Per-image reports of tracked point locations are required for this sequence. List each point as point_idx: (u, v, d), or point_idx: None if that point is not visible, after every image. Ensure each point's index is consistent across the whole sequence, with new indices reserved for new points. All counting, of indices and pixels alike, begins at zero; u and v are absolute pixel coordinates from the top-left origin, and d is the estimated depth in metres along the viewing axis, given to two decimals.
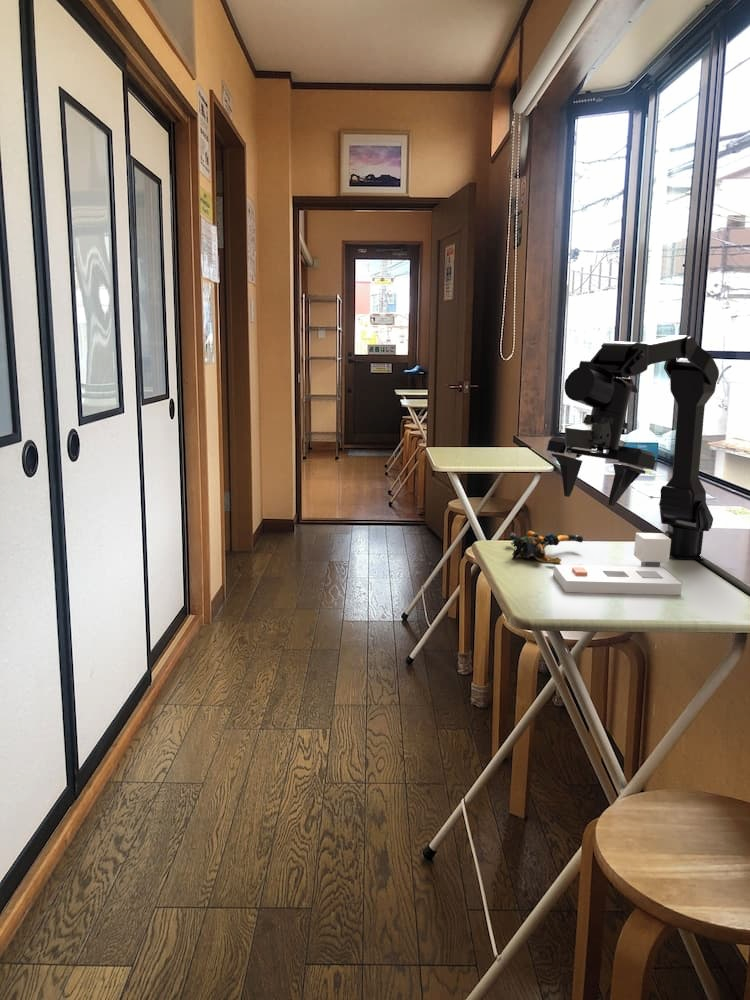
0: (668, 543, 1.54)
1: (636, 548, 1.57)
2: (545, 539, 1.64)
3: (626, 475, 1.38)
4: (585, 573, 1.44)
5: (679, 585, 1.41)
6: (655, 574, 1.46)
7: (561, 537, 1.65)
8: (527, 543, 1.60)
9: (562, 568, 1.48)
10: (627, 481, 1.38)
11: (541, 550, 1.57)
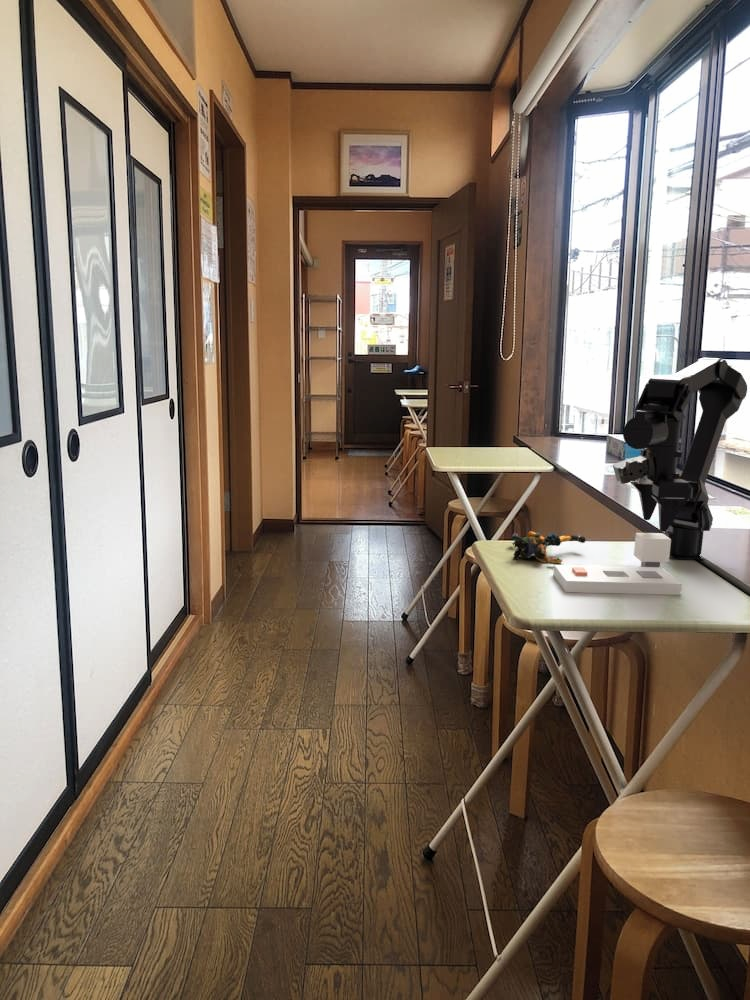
0: (668, 543, 1.54)
1: (636, 548, 1.57)
2: (547, 539, 1.64)
3: (671, 503, 1.48)
4: (585, 573, 1.44)
5: (679, 585, 1.41)
6: (655, 574, 1.46)
7: (563, 537, 1.65)
8: (528, 543, 1.60)
9: (562, 568, 1.48)
10: (673, 508, 1.49)
11: (542, 550, 1.57)
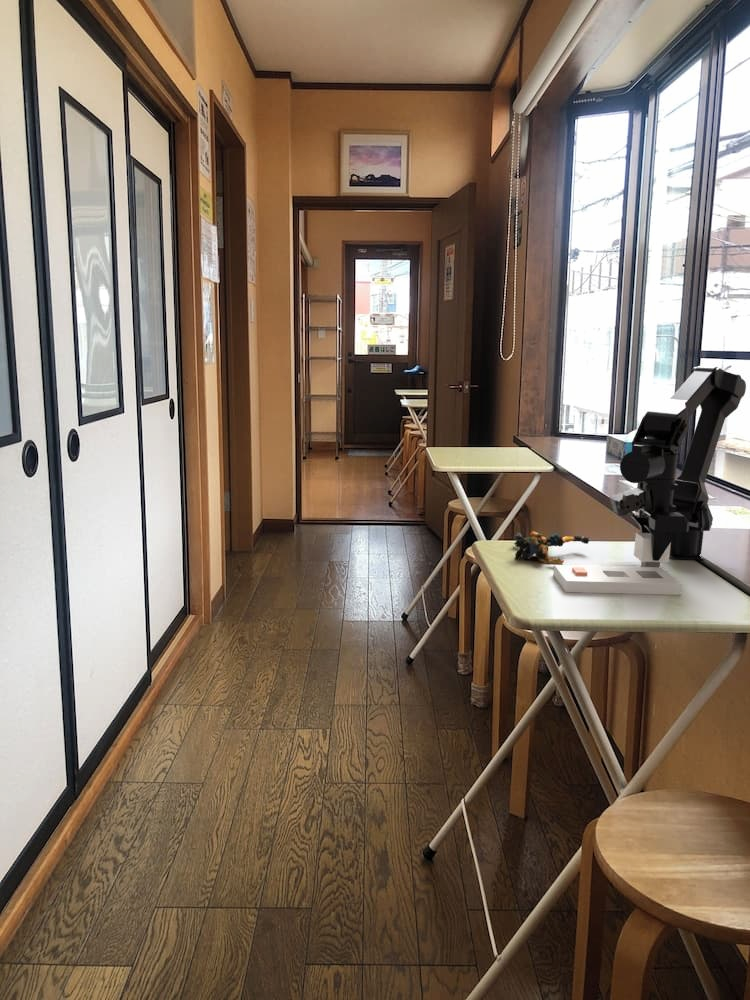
0: None
1: (636, 548, 1.57)
2: (549, 540, 1.63)
3: (663, 533, 1.52)
4: (585, 573, 1.44)
5: (679, 585, 1.41)
6: (655, 574, 1.46)
7: (566, 538, 1.65)
8: (529, 543, 1.59)
9: (562, 568, 1.48)
10: (666, 538, 1.52)
11: (543, 551, 1.57)
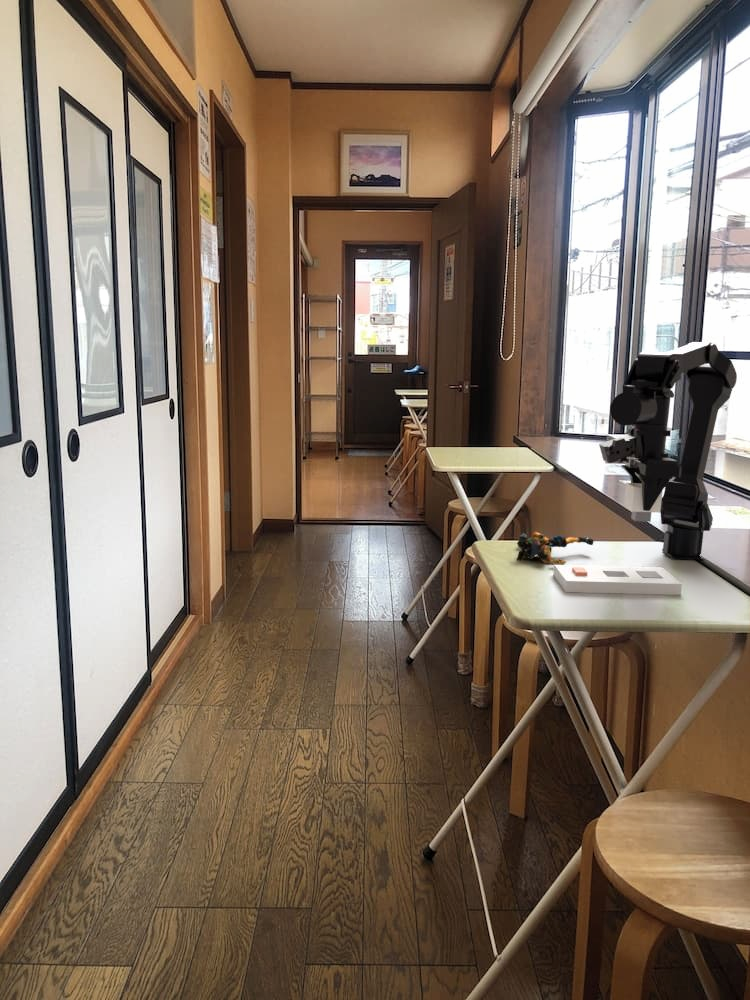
0: None
1: (626, 499, 1.51)
2: (552, 541, 1.63)
3: (654, 481, 1.45)
4: (585, 573, 1.44)
5: (679, 585, 1.41)
6: (655, 574, 1.46)
7: (570, 539, 1.64)
8: (531, 544, 1.59)
9: (562, 568, 1.48)
10: (657, 487, 1.45)
11: (544, 551, 1.56)
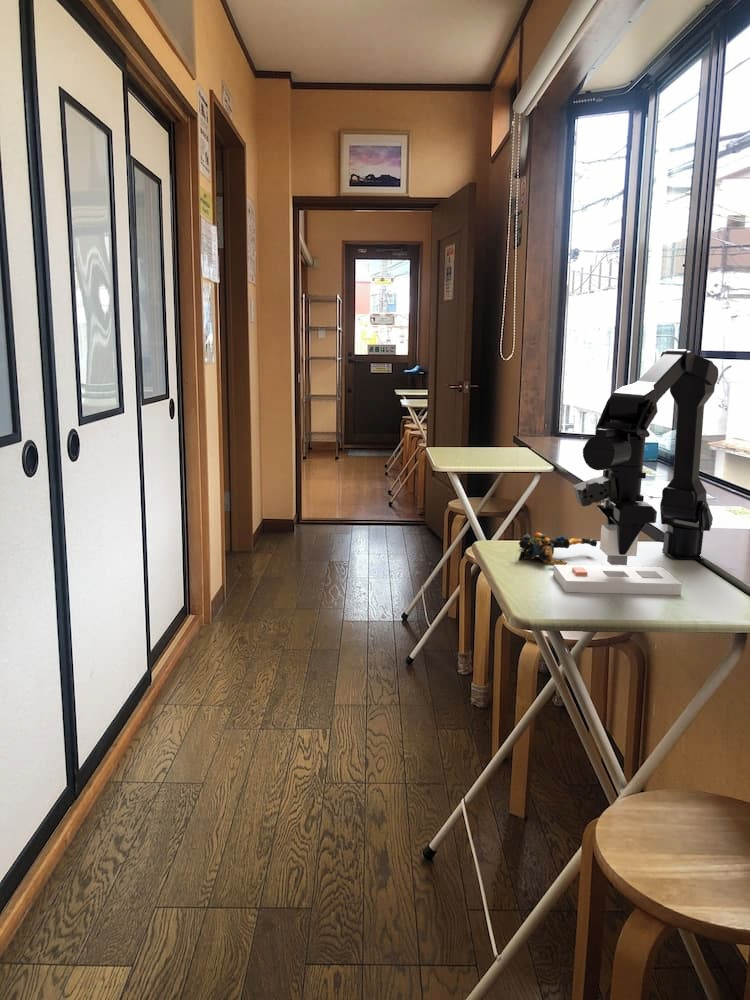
0: None
1: (602, 541, 1.46)
2: (555, 541, 1.62)
3: (630, 525, 1.40)
4: (585, 573, 1.44)
5: (679, 585, 1.41)
6: (655, 574, 1.46)
7: (573, 540, 1.63)
8: (533, 544, 1.59)
9: (562, 568, 1.48)
10: (633, 531, 1.40)
11: (545, 552, 1.56)
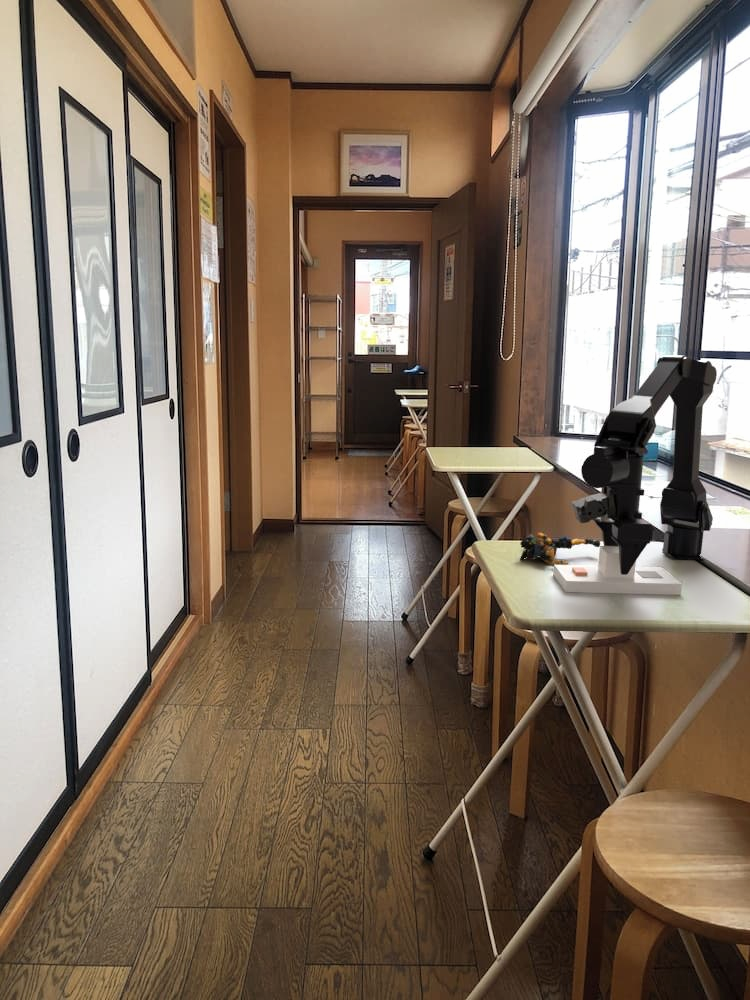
0: None
1: (600, 563, 1.46)
2: (557, 542, 1.62)
3: (632, 545, 1.39)
4: (585, 573, 1.44)
5: (679, 585, 1.41)
6: (655, 574, 1.46)
7: (576, 541, 1.63)
8: (534, 545, 1.59)
9: (562, 568, 1.48)
10: (634, 551, 1.39)
11: (546, 552, 1.56)
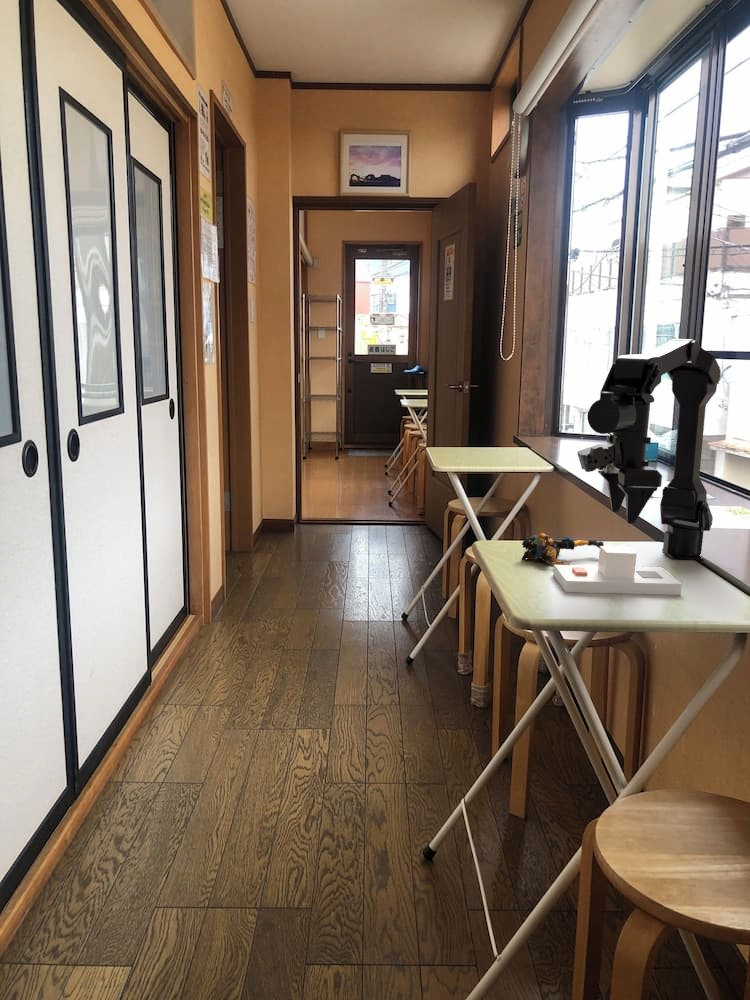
0: (633, 557, 1.43)
1: (600, 563, 1.46)
2: (560, 542, 1.61)
3: (638, 493, 1.37)
4: (585, 573, 1.44)
5: (679, 585, 1.41)
6: (655, 574, 1.46)
7: (579, 542, 1.62)
8: (536, 545, 1.59)
9: (562, 568, 1.48)
10: (641, 499, 1.37)
11: (547, 552, 1.56)
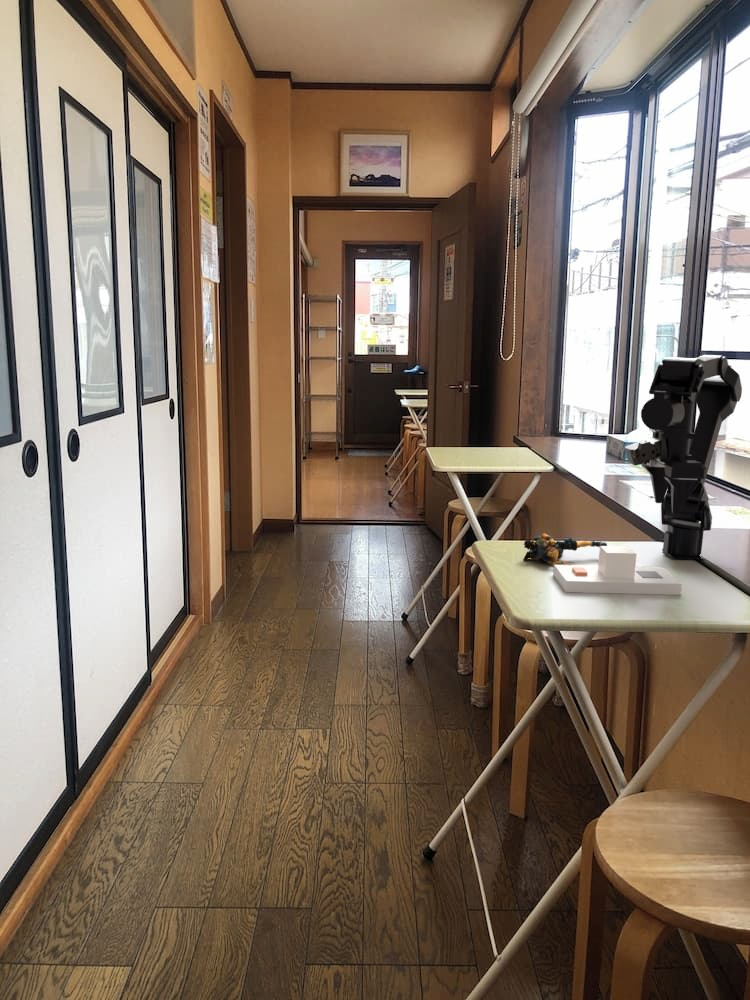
0: (633, 557, 1.43)
1: (600, 563, 1.46)
2: (562, 543, 1.61)
3: (683, 484, 1.48)
4: (585, 573, 1.44)
5: (679, 585, 1.41)
6: (655, 574, 1.46)
7: (582, 543, 1.61)
8: (538, 545, 1.58)
9: (562, 568, 1.48)
10: (686, 490, 1.48)
11: (548, 553, 1.55)
